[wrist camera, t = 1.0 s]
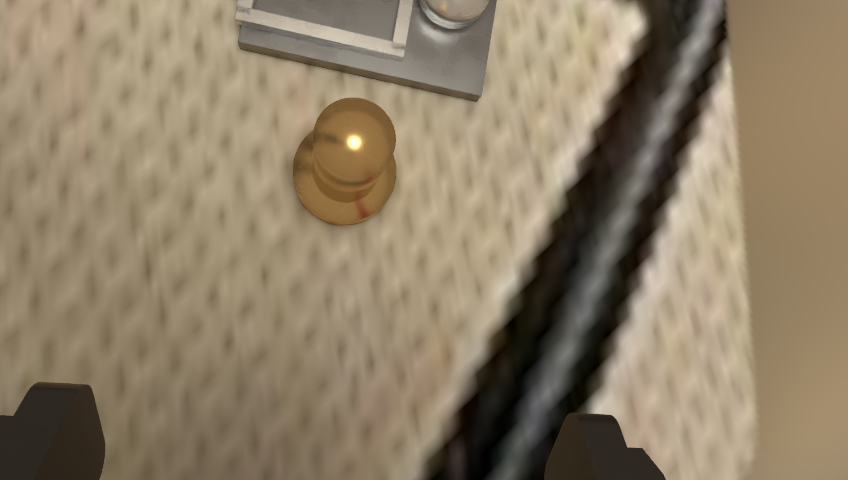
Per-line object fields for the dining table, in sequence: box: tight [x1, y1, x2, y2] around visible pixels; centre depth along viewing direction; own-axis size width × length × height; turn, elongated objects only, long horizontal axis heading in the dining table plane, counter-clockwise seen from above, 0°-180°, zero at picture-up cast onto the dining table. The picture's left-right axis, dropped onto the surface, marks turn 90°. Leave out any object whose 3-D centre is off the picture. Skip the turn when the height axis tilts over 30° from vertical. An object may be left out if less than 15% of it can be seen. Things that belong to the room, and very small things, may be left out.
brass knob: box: [293, 98, 396, 225], centre depth 34 cm, size 6×6×10 cm
